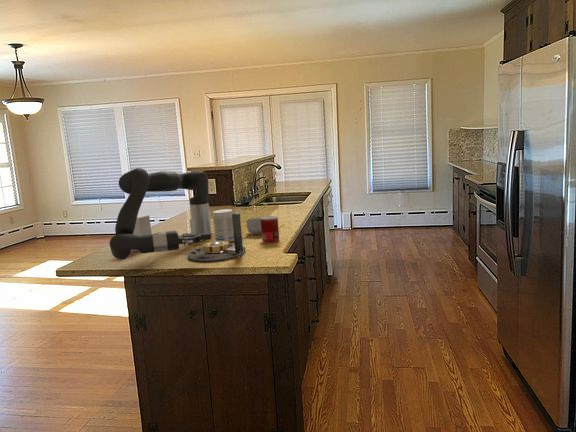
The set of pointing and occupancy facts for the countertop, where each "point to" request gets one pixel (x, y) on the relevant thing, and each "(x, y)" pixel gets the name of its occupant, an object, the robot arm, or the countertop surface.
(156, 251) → the robot arm
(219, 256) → the flange plate
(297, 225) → the countertop surface
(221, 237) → the supplement tub
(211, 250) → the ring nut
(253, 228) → the teacup
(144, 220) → the skincare box
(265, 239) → the canned food
